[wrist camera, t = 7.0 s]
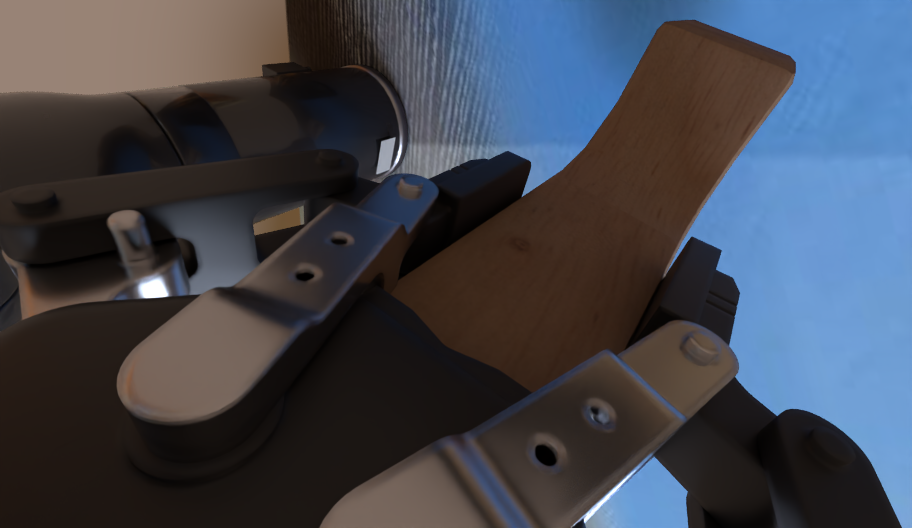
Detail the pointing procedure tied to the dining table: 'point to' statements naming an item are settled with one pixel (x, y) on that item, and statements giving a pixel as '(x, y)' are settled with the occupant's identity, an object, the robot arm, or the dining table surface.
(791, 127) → the dining table surface
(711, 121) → the wooden block
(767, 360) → the dining table surface
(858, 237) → the dining table surface
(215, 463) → the robot arm
